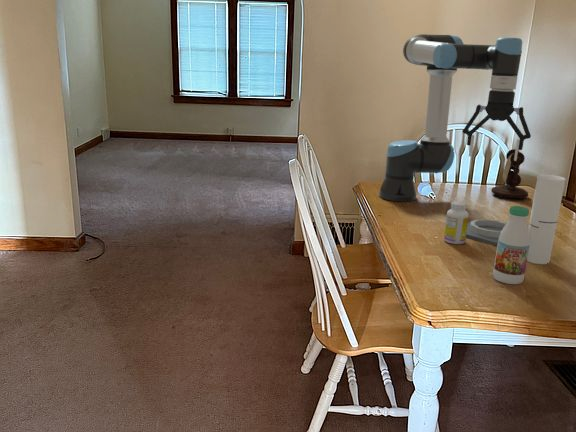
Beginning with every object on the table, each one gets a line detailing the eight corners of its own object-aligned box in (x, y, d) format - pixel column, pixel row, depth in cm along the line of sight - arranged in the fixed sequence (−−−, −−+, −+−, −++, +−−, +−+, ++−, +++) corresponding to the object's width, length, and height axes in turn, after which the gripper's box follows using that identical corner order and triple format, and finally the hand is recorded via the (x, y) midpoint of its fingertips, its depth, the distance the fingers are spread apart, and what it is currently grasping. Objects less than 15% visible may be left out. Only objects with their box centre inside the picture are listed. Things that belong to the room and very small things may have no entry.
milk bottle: (487, 273, 145) (498, 203, 139) (514, 273, 145) (526, 203, 139) (500, 285, 137) (512, 212, 131) (528, 285, 138) (542, 212, 132)
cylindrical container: (547, 266, 151) (564, 181, 144) (521, 260, 155) (535, 177, 147) (550, 258, 157) (566, 176, 150) (525, 253, 161) (539, 173, 153)
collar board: (448, 232, 178) (450, 223, 177) (477, 221, 191) (478, 213, 190) (506, 248, 164) (507, 239, 163) (533, 235, 177) (534, 227, 176)
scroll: (487, 191, 235) (494, 146, 229) (521, 193, 233) (529, 148, 227) (495, 199, 221) (502, 152, 215) (531, 202, 219) (540, 154, 213)
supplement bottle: (462, 238, 172) (467, 200, 168) (467, 245, 166) (472, 206, 162) (441, 237, 172) (446, 199, 169) (445, 244, 166) (450, 205, 162)
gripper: (459, 88, 165) (451, 155, 171) (547, 93, 155) (534, 163, 161) (461, 87, 171) (453, 152, 177) (546, 91, 162) (534, 159, 168)
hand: (492, 157), depth 169 cm, fingers open, 13 cm apart
